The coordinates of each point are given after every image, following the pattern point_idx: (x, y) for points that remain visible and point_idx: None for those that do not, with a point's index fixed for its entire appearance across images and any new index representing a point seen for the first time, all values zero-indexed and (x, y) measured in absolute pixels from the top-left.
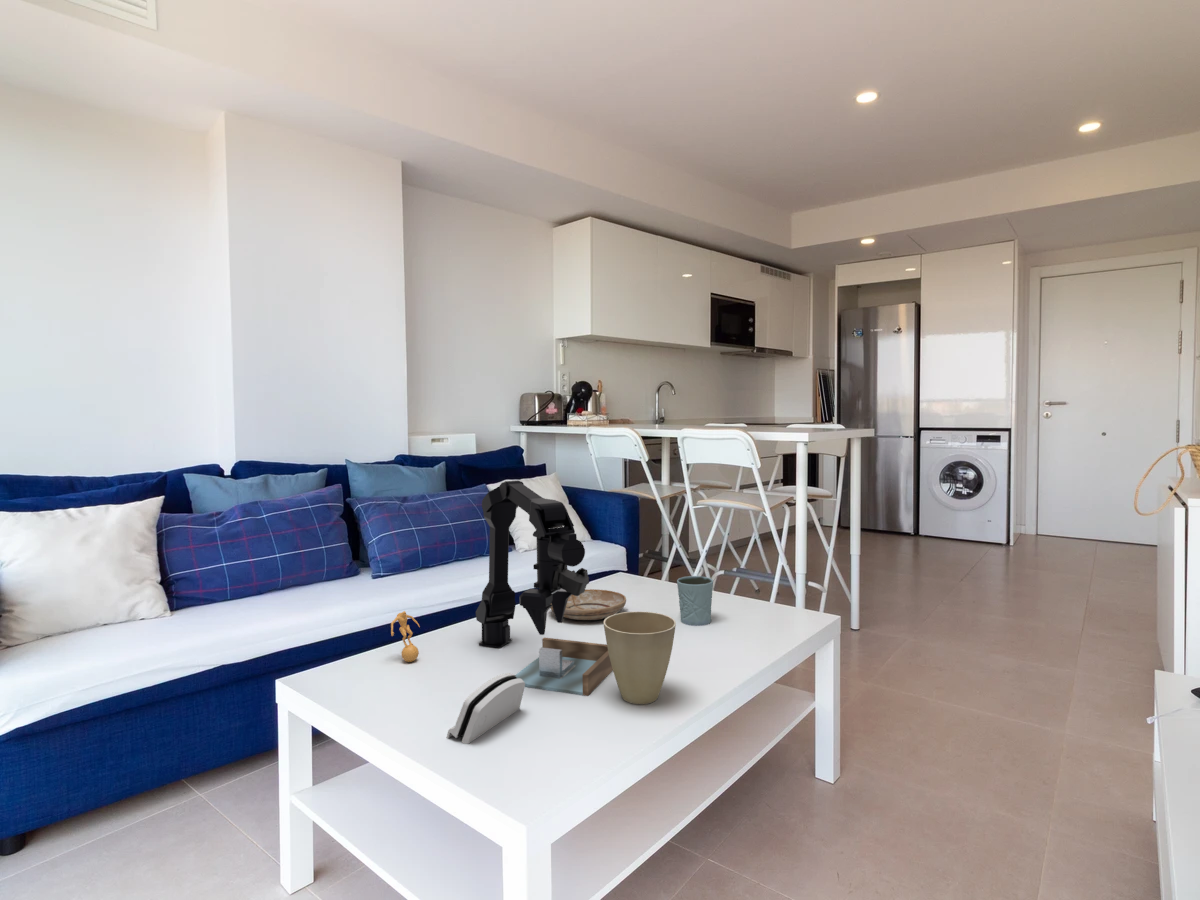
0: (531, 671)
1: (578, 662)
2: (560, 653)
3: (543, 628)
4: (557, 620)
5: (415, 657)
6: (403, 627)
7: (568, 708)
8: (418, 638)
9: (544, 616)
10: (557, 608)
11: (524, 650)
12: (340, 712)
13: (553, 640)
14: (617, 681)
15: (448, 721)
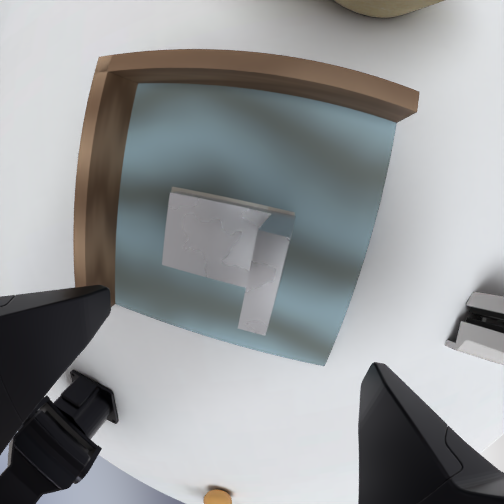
0: None
1: (144, 184)
2: (279, 232)
3: (410, 391)
4: (103, 315)
5: (222, 494)
6: None
7: (474, 161)
8: (132, 476)
9: (475, 455)
10: (48, 354)
11: (101, 345)
12: None
13: None
14: (428, 5)
15: (485, 395)
